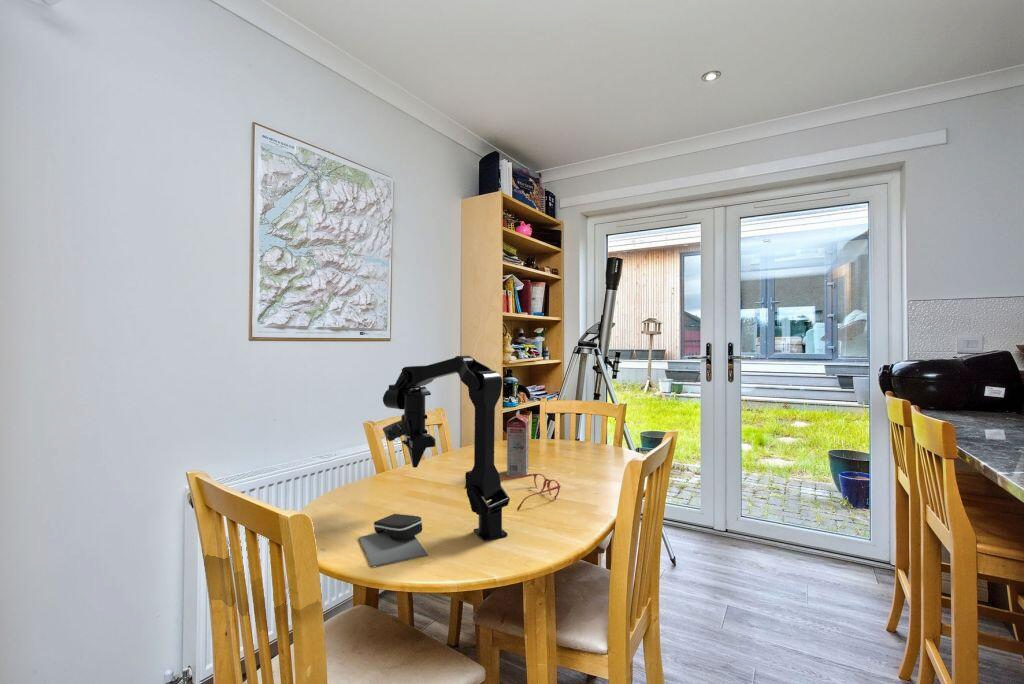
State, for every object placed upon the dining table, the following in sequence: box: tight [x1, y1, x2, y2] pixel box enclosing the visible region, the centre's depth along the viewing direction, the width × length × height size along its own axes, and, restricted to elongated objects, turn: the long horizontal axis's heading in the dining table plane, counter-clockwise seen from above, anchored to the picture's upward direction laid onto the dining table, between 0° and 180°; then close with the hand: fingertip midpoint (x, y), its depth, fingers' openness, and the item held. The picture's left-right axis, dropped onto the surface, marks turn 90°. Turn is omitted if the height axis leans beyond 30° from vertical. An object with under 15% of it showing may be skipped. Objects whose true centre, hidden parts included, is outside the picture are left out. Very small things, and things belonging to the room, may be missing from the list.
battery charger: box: [373, 513, 423, 540], centre depth 114 cm, size 7×4×11 cm
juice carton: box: [506, 409, 529, 477], centre depth 166 cm, size 7×7×22 cm
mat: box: [358, 531, 429, 568], centre depth 108 cm, size 16×12×1 cm
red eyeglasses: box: [500, 473, 561, 509], centre depth 142 cm, size 17×16×5 cm
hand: (414, 467), depth 131 cm, fingers closed
